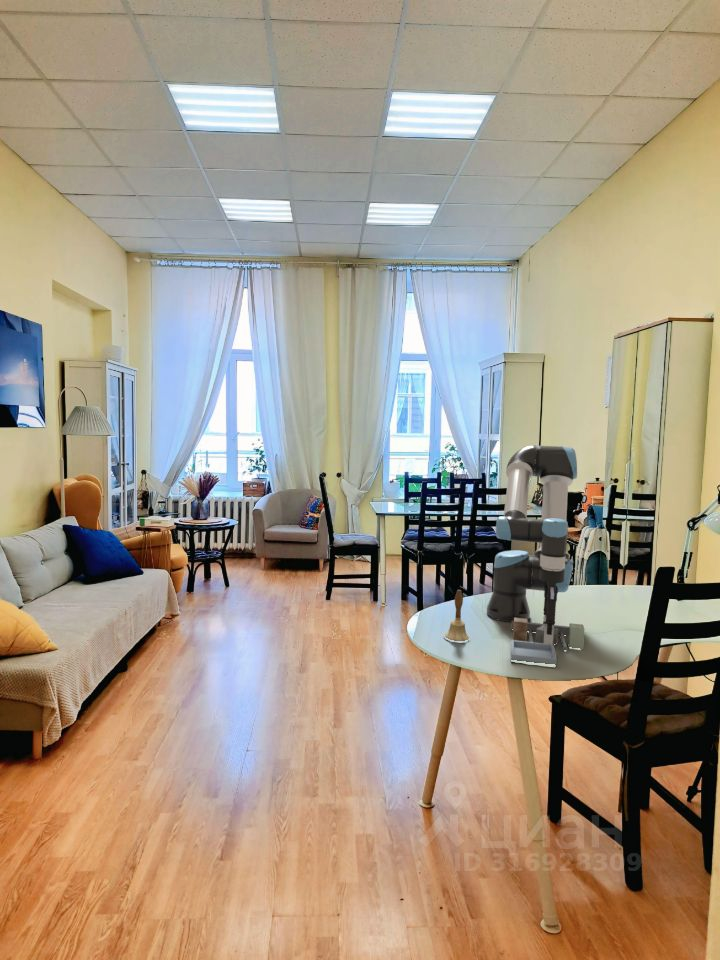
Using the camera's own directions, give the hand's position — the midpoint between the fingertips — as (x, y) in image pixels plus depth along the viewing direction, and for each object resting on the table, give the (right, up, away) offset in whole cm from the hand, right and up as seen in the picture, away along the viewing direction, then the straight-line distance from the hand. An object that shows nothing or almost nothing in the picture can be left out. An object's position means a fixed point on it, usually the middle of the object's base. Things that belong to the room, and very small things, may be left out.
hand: (547, 639), depth 199 cm
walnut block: (-8, -1, +2) cm, 9 cm away
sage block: (+8, -2, -2) cm, 9 cm away
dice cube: (0, -2, 0) cm, 2 cm away
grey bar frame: (+1, -1, +3) cm, 3 cm away
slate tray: (-8, -2, -11) cm, 14 cm away
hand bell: (-28, 0, +2) cm, 28 cm away
